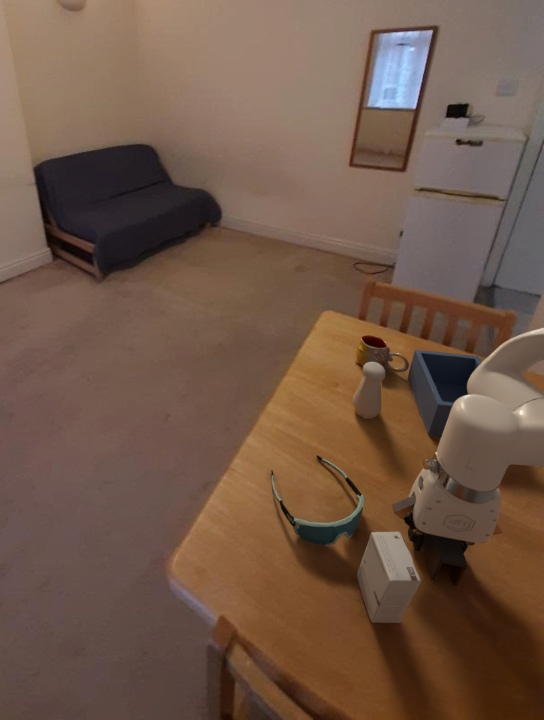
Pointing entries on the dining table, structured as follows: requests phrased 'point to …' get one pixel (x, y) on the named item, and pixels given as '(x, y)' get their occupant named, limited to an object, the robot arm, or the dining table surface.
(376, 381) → the salt shaker
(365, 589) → the cosmetic box
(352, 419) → the dining table surface
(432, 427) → the box
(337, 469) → the sunglasses
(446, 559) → the black channel
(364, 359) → the mug
